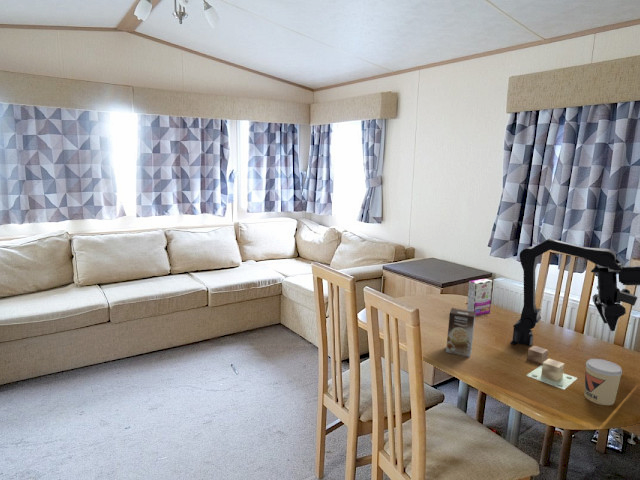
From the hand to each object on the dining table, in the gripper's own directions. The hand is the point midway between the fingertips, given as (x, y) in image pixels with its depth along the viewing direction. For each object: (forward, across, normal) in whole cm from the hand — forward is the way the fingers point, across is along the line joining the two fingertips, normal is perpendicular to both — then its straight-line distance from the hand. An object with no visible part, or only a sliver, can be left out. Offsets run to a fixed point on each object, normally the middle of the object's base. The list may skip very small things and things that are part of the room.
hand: (609, 327), depth 158 cm
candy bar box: (+6, +40, +46) cm, 61 cm away
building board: (+12, -20, +22) cm, 32 cm away
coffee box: (+8, -10, +52) cm, 53 cm away
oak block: (+11, -20, +22) cm, 32 cm away
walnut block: (+11, -7, +25) cm, 28 cm away
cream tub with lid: (+15, -30, +10) cm, 35 cm away
